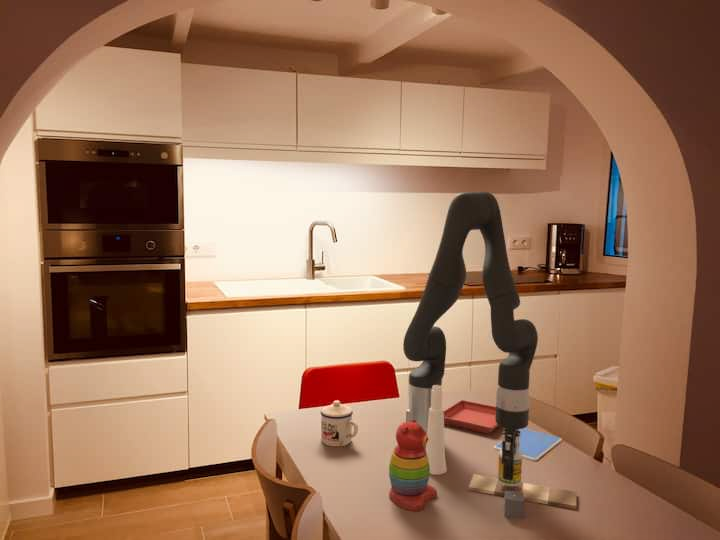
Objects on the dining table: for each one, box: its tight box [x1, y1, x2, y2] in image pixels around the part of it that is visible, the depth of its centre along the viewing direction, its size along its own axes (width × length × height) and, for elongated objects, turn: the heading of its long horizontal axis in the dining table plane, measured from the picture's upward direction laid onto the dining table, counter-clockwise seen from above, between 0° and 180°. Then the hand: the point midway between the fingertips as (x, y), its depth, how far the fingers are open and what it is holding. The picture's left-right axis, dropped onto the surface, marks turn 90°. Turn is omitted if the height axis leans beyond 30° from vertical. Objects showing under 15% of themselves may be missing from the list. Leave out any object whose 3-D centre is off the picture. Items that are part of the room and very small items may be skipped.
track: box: [468, 473, 577, 510], centre depth 138 cm, size 24×7×1 cm, turn 69°
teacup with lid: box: [320, 400, 359, 447], centre depth 166 cm, size 12×9×12 cm
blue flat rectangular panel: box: [493, 427, 562, 462], centre depth 167 cm, size 19×13×1 cm, turn 141°
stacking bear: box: [388, 419, 438, 512], centre depth 135 cm, size 11×10×18 cm
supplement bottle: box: [497, 442, 523, 486], centre depth 139 cm, size 5×5×10 cm
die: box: [503, 491, 525, 519], centre depth 129 cm, size 4×4×4 cm
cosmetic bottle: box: [425, 385, 448, 476], centre depth 148 cm, size 6×6×22 cm
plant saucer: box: [444, 399, 500, 435], centre depth 183 cm, size 18×18×3 cm
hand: (509, 473), depth 139 cm, fingers closed on supplement bottle, 5 cm apart
